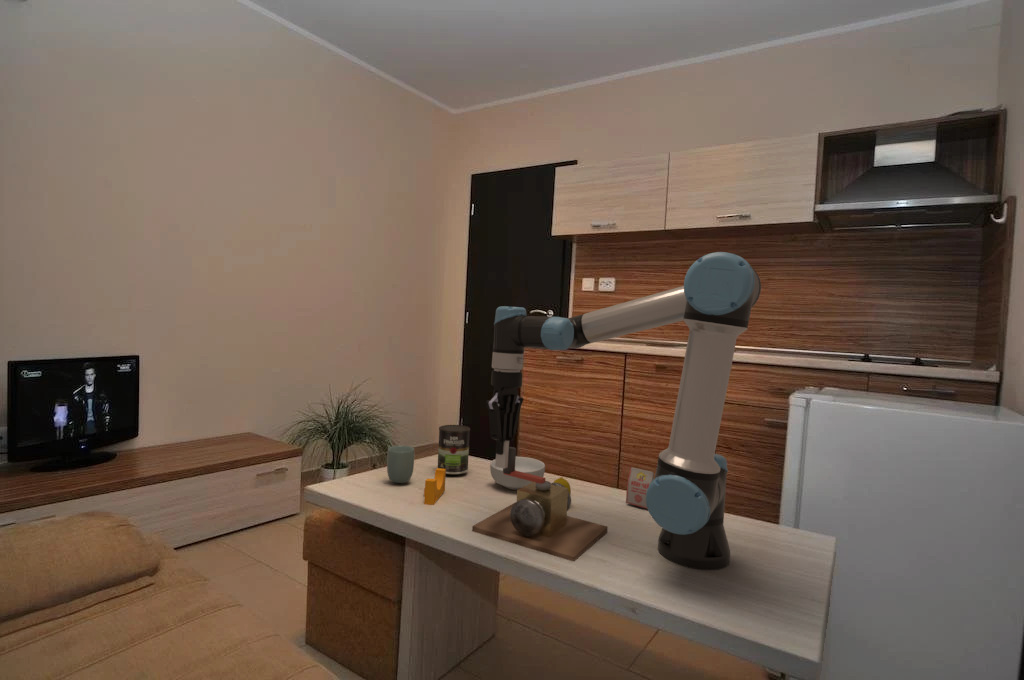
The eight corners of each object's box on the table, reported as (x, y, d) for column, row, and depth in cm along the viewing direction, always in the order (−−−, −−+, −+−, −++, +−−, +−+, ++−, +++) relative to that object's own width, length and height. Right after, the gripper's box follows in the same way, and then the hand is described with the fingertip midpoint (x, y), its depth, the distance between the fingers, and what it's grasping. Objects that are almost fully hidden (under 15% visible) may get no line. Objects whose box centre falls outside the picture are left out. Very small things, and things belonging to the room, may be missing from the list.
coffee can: (468, 475, 163) (470, 431, 162) (436, 474, 162) (438, 430, 162) (468, 465, 173) (470, 425, 173) (438, 465, 172) (439, 424, 172)
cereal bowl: (500, 474, 165) (501, 453, 165) (549, 482, 160) (550, 460, 160) (480, 490, 149) (482, 466, 149) (535, 499, 144) (536, 474, 143)
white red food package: (631, 499, 147) (633, 465, 147) (653, 505, 143) (655, 470, 143) (625, 502, 144) (627, 468, 144) (648, 509, 140) (650, 473, 140)
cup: (418, 480, 155) (419, 448, 154) (399, 487, 148) (401, 453, 148) (399, 475, 159) (401, 444, 158) (381, 481, 152) (382, 448, 152)
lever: (553, 487, 121) (555, 455, 121) (545, 491, 118) (547, 458, 118) (507, 476, 128) (509, 445, 128) (499, 479, 125) (500, 448, 125)
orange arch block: (430, 489, 148) (431, 467, 148) (444, 490, 147) (445, 468, 147) (417, 503, 136) (418, 480, 136) (433, 505, 135) (434, 481, 135)
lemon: (567, 511, 136) (569, 481, 135) (547, 507, 137) (549, 478, 137) (571, 504, 141) (573, 476, 141) (552, 501, 143) (554, 473, 142)
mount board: (607, 532, 123) (607, 526, 123) (573, 564, 106) (573, 557, 105) (515, 507, 136) (515, 502, 136) (472, 532, 119) (472, 526, 119)
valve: (572, 520, 125) (574, 484, 125) (542, 543, 112) (544, 502, 111) (539, 511, 130) (541, 477, 130) (507, 532, 116) (509, 493, 116)
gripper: (504, 373, 115) (498, 475, 116) (534, 370, 126) (528, 464, 126) (478, 369, 119) (472, 469, 120) (509, 367, 130) (503, 458, 130)
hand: (501, 466), depth 123 cm, fingers closed
